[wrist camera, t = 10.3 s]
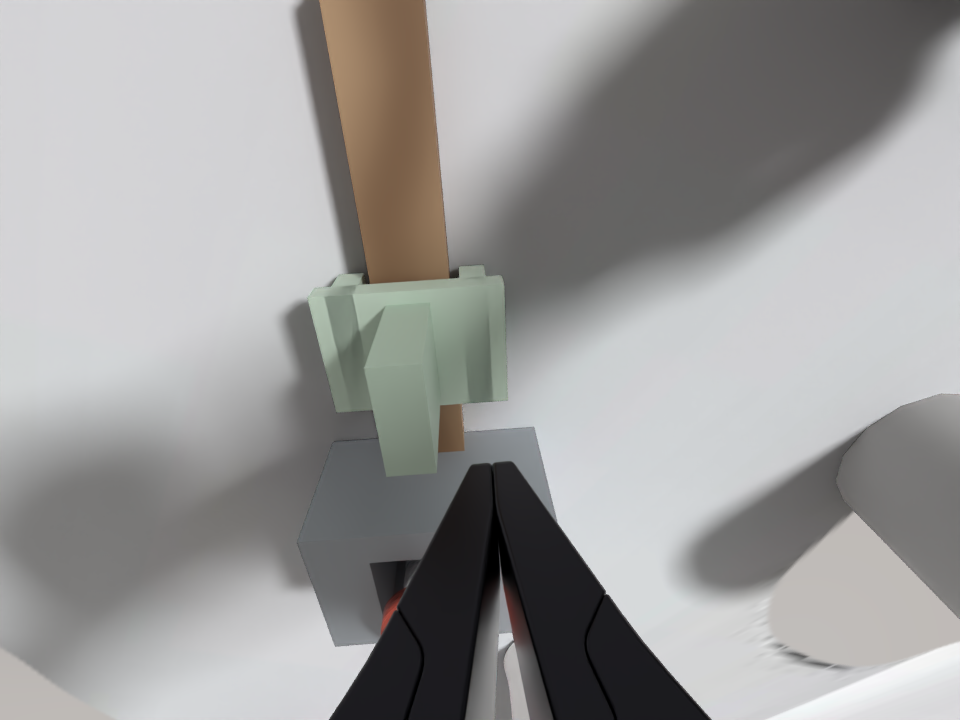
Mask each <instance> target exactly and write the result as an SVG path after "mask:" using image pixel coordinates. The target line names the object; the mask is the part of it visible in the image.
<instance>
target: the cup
mask: <svg viewBox="0 0 960 720" xmlns="http://www.w3.org/2000/svg"><path fill="white" fill-rule="evenodd" d="M836 483H837V486H838V488H839V491H840V493H841V496H842V498H843V500H844V501H845V502H846V503H847V504H848V505H849V506H850V508H851V509H852V510H853V511H854V512H855V513H856V514H857V515H858V516H860V518H861V519H862V520H863V521H864V522H865V523H866V524H867V525H868V526H869V527H870V528H871V529H872V530H873V531H874V532H875V533H876V534H877V535H878V536H879V537H880V538H881V539H882V540H883V541H884V542H885V543H886V544H887V545H888V546H889V547H890V548H891V550H893V552H895V554H896V555H897V556H899V558H900V559H901V560H902V561H903V562H904V563H905V564H906V565H907V566H908V567H909V568H910V569H911V570H912V571H913V572H914V573H915V574H916V575H917V576H918V577H919V578H920V579H921V580H922V581H923V582H924V583H925V584H926V585H927V586H928V587H929V588H930V589H931V590H932V591H933V592H934V593H935V594H936V596H938V598H939V599H940V600H941V601H942V602H943V603H944V604H945V605H946V606H947V607H948V608H949V609H950V610H951V611H952V612H953V613H954V614H955V615H956V616H957V617H958V618H959V619H960V394H938V395H935V396H932V397H928V398H925V399H922V400H919V401H916V402H913V403H909V404H906V405H903V406H901V407H899V408H897V409H896V410H894V411H893V412H891V413H890V414H888V415H887V416H885V417H883V418H882V419H880V420H879V421H877V422H876V423H874V424H873V425H871V426H869V427H868V428H866V429H865V431H864V432H863V433H862V434H861V435H860V436H859V438H858V439H857V440H856V441H855V442H854V443H853V445H852V446H851V447H850V448H849V449H848V450H847V452H846V453H845V454H844V455H843V457H842V461H841V464H840V468H839V471H838V474H837V478H836Z"/></svg>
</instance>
